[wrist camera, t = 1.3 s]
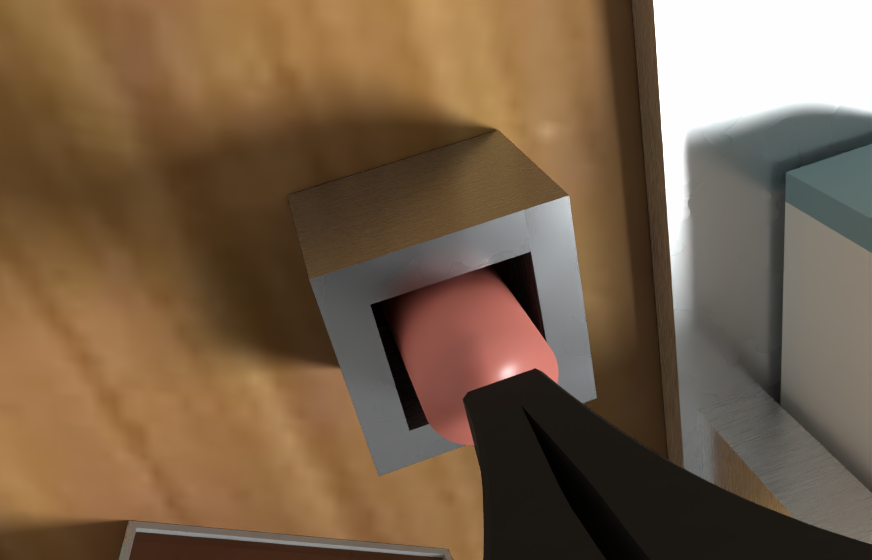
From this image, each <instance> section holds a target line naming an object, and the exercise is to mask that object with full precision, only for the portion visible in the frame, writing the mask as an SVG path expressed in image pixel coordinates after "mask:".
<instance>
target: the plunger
mask: <svg viewBox="0 0 872 560" xmlns="http://www.w3.org/2000/svg"><path fill="white" fill-rule="evenodd" d="M380 305H381V307H382V310H383V312H384V315H385V317H386V320H387V322H388V325H389V327H390V329H391V332H392V334H393V337H394V339H395V342H396V344H397V347H398V349H399V352H400V354H401V357H402V359H403V362H404V364H405V367H406V369H407V372H408V374H409V377H410V379H411V381H412V384H413V386H414V389H415V391H416V394H417V396H418V399H419V401H420V404H421V406H422V409H423V411H424V414H425V416H426V419H427V421H428V422H429V424H430V426H431V427H432V428H433V429H434V430H435V431H436V432H437V433H438V434H439V435H441V436H442V437H444V438H445V439H447V440H449V441H452V442H454V443H458V444H462V445H469V446H474V442H473V438H472V434H471V430H470V427H469V423H468V419H467V415H466V411H465V407H464V403H463V398H464V397H465V395H466V394H467V392H469V391H472V390H475V389H477V388H480V387H483V386H486V385H489V384H492V383H495V382H497V381H500V380H503V379H506V378H509V377H512V376H515V375H517V374H520V373H523V372H526V371H529V370H532V369H535V368H536V369H538V370H540V371H542V372H543V373H545V374H546V375H547V376H548V377H549V378H551V379H552V380H553V381H554V382H556V383H557V384H558V375H559V372H558V364H557V360H556V357H555V355H554V353H553V351H552V350H551V348H550V347H549V345H548V344H547V342H546V341H545V339H544V338H543V337H542V335H541V334H540V332H539V331H538V330H537V328H536V327H535V325H534V324H533V323H532V321H531V320H530V318H529V317H528V316H527V314H526V313H525V311H524V310H523V308H522V307H521V306H520V304H519V303H518V301H517V300H516V299H515V297H514V296H513V294H512V293H511V292H510V290H509V289H508V287H507V286H506V285H505V283H504V282H503V280H502V279H501V278H500V276H499V275H498V273H497V272H496V270H495V269H494V268H493V266H492V265H489V266H486V267H483V268H480V269H477V270H474V271H471V272H467V273H464V274H461V275H458V276H455V277H452V278H449V279H446V280H443V281H440V282H437V283H434V284H431V285H428V286H425V287H422V288H419V289H416V290H413V291H410V292H407V293H404V294H401V295H398V296H395V297H392V298H389V299H386V300H383V301H380Z"/></svg>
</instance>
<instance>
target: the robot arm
mask: <svg viewBox="0 0 872 560" xmlns="http://www.w3.org/2000/svg"><path fill="white" fill-rule="evenodd" d="M463 403H464V407H465V411H466V415H467V419H468V423H469V427H470V430H471V434H472V438H473V442H474V446H475V450H476V454H477V458H478V462H479V466H480V470H481V477H482V487H483V512H484V557H483V560H872V544H869V543H866V542H862V541H859V540H856V539H853V538H850V537H846V536H843V535H840V534H837V533H834V532H831V531H828V530H825V529H821V528H818V527H816V526H813V525H810V524H807V523H805V522H802V521H800V520H797V519H794V518H792V517H789V516H787V515H784V514H782V513H779V512H776V511H774V510H771V509H769V508H766V507H764V506H761V505H758V504H756V503H754V502H751V501H749V500H747V499H745V498H742V497H740V496H738V495H736V494H734V493H731V492H729V491H727V490H725V489H723V488H721V487H719V486H717V485H715V484H713V483H711V482H709V481H707V480H705V479H703V478H701V477H699V476H697V475H695V474H693V473H691V472H689V471H687V470H686V469H684V468H682V467H680V466H678V465H677V464H675V463H673V462H671V461H670V460H668V459H666V458H665V457H663V456H661V455H659V454H658V453H656V452H654V451H653V450H651V449H649V448H648V447H646V446H644V445H643V444H641V443H640V442H638V441H636V440H635V439H633V438H632V437H630V436H629V435H627V434H626V433H624V432H623V431H621V430H620V429H618V428H617V427H615V426H614V425H612V424H611V423H609V422H608V421H606V420H605V419H603V418H602V417H601V416H599V415H598V414H596V413H595V412H594V411H592V410H591V409H589V408H588V407H587V406H585V405H584V404H583V403H581V402H580V401H579V400H577V399H576V398H575V397H573V396H572V395H571V394H569V393H568V392H567V391H566V390H564V389H563V388H562V387H561V386H559V385H558V384H557V383H556V382H554V381H553V380H552V379H551V378H549V377H548V376H547V375H546V374H545V373H543V372H542V371H540V370H538V369H536V368H535V369H532V370H529V371H526V372H523V373H520V374H517V375H515V376H512V377H509V378H506V379H503V380H500V381H497V382H495V383H492V384H489V385H486V386H483V387H480V388H477V389H475V390H472V391H469V392H467V394H466V395H465V397H464V398H463Z"/></svg>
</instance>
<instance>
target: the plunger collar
mask: <svg viewBox="0 0 872 560" xmlns="http://www.w3.org/2000/svg"><path fill="white" fill-rule="evenodd" d="M287 197H288V201H289V204H290V208H291V212H292V216H293V220H294V224H295V227H296V231H297V235H298V239H299V243H300V247H301V250H302V254H303V258H304V262H305V266H306V269H307V273H308V277H309V281H310V283H311V286H312V289H313V292H314V295H315V298H316V300H317V303H318V306H319V309H320V312H321V315H322V317H323V320H324V323H325V326H326V329H327V331H328V334H329V337H330V340H331V343H332V346H333V348H334V351H335V354H336V357H337V360H338V363H339V365H340V368H341V371H342V374H343V377H344V380H345V382H346V385H347V388H348V391H349V394H350V396H351V399H352V402H353V405H354V408H355V411H356V413H357V416H358V419H359V422H360V425H361V428H362V430H363V433H364V436H365V439H366V442H367V445H368V447H369V450H370V453H371V456H372V459H373V462H374V464H375V467H376V470H377V473H378V476H381V475H384V474H387V473H389V472H392V471H395V470H398V469H401V468H403V467H406V466H409V465H412V464H415V463H417V462H420V461H423V460H426V459H429V458H431V457H434V456H437V455H440V454H443V453H445V452H448V451H451V450H454V449H457V448H459V447H462V446H465V445H462V444H458V443H454V442H452V441H449V440H447V439H445V438H444V437H442V436H441V435H439V434H438V433H437V432H436V431H435V430H434V429H433V428H432V427H431V426H430V424H429V422H428V421H427V419H426V416H425V414H424V411H423V409H422V406H421V404H420V401H419V399H418V396H417V394H416V391H415V389H414V386H413V384H412V381H411V379H410V377H409V374H408V372H407V369H406V367H405V364H404V362H403V359H402V357H401V354H400V352H399V349H398V347H397V344H396V342H395V339H394V337H393V334H392V332H391V329H390V327H389V325H387V326H384V327H381V328H377V325H376V322H375V319H374V315H373V312H372V309H371V306H370V305H371V304H374V303H377V302H380V301H383V300H386V299H389V298H392V297H395V296H398V295H401V294H404V293H407V292H410V291H413V290H416V289H419V288H422V287H425V286H428V285H431V284H434V283H437V282H440V281H443V280H446V279H449V278H452V277H455V276H458V275H461V274H464V273H467V272H471V271H474V270H477V269H480V268H483V267H486V266H489V265H492V266H493V268H494V269H495V270H496V272H497V273H498V275H499V276H500V278H501V279H502V280H503V282H504V283H505V285H506V286H507V287H508V289H509V290H510V292H511V293H512V294H513V296H514V297H515V299H516V300H517V301H518V303H519V304H520V306H521V307H522V308H523V310H524V311H525V313H526V314H527V316H528V317H529V318H530V320H531V321H532V323H533V324H534V325H535V327H536V328H537V330H538V331H539V332H540V334H541V335H542V337H543V338H544V339H545V341H546V342H547V344H548V345H549V347H550V348H551V350H552V351H553V353H554V355H555V357H556V360H557V364H558V372H559V375H558V385H559V386H561V387H562V388H563V389H564V390H566V391H567V392H568V393H569V394H571V395H572V396H573V397H575V398H576V399H577V400H579V401H580V402H581V403H585V402H588V401H591V400H593V399H596V398H597V396H596V388H595V381H594V374H593V367H592V359H591V352H590V345H589V337H588V330H587V323H586V316H585V308H584V301H583V294H582V287H581V279H580V272H579V265H578V258H577V250H576V243H575V236H574V229H573V221H572V214H571V207H570V200H569V195H568V194H567V193H566V192H565V191H564V190H563V189H562V188H560V187H559V186H558V185H557V184H556V183H555V182H554V181H553V180H552V179H551V178H550V177H549V176H548V175H546V174H545V173H544V172H543V171H542V170H541V169H540V168H539V167H538V166H537V165H536V164H535V163H534V162H532V161H531V160H530V159H529V158H528V157H527V156H526V155H525V154H524V153H523V152H522V151H521V150H519V149H518V148H517V147H516V146H515V145H514V144H513V143H512V142H511V141H510V140H509V139H508V138H507V137H505V136H504V135H503V134H502V133H501V132H500V131H499V130H497V131H494V132H491V133H487V134H484V135H481V136H478V137H475V138H471V139H468V140H465V141H462V142H458V143H455V144H452V145H449V146H445V147H442V148H439V149H436V150H433V151H429V152H426V153H423V154H420V155H416V156H413V157H410V158H407V159H403V160H400V161H397V162H394V163H391V164H387V165H384V166H381V167H378V168H374V169H371V170H368V171H365V172H361V173H358V174H355V175H352V176H349V177H345V178H342V179H339V180H336V181H332V182H329V183H326V184H323V185H319V186H316V187H313V188H310V189H307V190H303V191H300V192H297V193H294V194H290V195H287Z"/></svg>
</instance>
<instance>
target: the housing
mask: <svg viewBox="0 0 872 560" xmlns="http://www.w3.org/2000/svg"><path fill="white" fill-rule="evenodd" d="M632 11H633V23H634V36H635V49H636V61H637V74H638V86H639V99H640V111H641V124H642V137H643V149H644V162H645V174H646V187H647V200H648V212H649V225H650V237H651V250H652V262H653V275H654V288H655V300H656V313H657V325H658V338H659V351H660V363H661V376H662V388H663V401H664V413H665V426H666V439H667V451H668V460H670V461H671V462H673V463H675V464H677V465H678V466H680V467H682V468H684V469H686V470H687V471H689V472H691V473H693V474H695V475H697V476H699V477H701V478H703V479H705V480H707V481H709V482H711V483H713V484H715V485H717V486H719V487H721V488H723V489H725V490H727V491H729V492H731V493H734V494H736V495H738V496H740V497H742V498H745V499H747V500H749V501H751V502H754V503H756V504H758V505H761V506H764V507H766V508H769V509H771V510H774V511H776V512H779V513H782V514H784V515H787V516H789V517H792V518H794V519H797V520H800V521H802V522H805V523H807V524H810V525H813V526H816V527H818V528H821V529H825V530H828V531H831V532H834V533H837V534H840V535H843V536H846V537H850V538H853V539H856V540H859V541H862V542H866V543H869V544H872V493H871V492H870V491H869V490H868V489H867V488H866V487H865V486H864V485H863V484H862V483H861V482H860V481H859V480H858V479H857V478H856V477H854V476H853V475H852V474H851V473H850V472H849V471H848V470H847V469H846V468H845V467H844V466H843V465H842V464H841V463H840V462H839V461H838V460H837V459H836V458H835V457H833V456H832V455H831V454H830V453H829V452H828V451H827V450H826V449H825V448H824V447H823V446H822V445H821V444H820V443H819V442H818V441H817V440H816V439H815V438H814V437H812V436H811V435H810V434H809V433H808V432H807V431H806V430H805V429H804V428H803V427H802V426H801V425H800V424H799V423H798V422H797V421H796V420H795V419H794V418H793V417H791V416H790V415H789V414H788V413H787V412H786V411H785V410H784V409H783V408H782V407H781V406H780V404H781V361H782V319H783V277H784V234H785V192H786V172H788V171H791V170H794V169H797V168H800V167H803V166H806V165H809V164H812V163H815V162H818V161H821V160H824V159H827V158H830V157H833V156H837V155H840V154H843V153H846V152H849V151H852V150H855V149H858V148H861V147H864V146H867V145H870V144H872V0H632Z"/></svg>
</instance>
